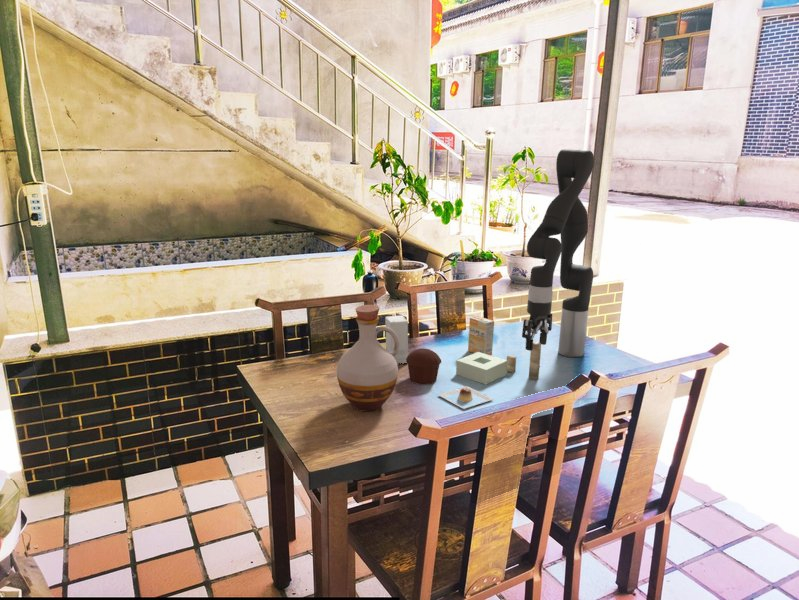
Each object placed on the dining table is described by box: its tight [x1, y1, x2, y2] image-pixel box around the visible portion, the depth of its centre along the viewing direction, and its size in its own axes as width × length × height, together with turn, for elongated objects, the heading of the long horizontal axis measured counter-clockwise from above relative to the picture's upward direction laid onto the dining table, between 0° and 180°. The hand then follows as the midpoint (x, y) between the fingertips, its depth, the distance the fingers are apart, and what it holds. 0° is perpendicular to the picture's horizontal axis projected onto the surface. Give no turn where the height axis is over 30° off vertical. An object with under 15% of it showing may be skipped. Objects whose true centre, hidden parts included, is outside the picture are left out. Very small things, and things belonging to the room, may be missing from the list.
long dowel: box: [528, 341, 542, 381], centre depth 198 cm, size 3×3×12 cm
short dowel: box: [506, 354, 517, 373], centre depth 205 cm, size 3×3×5 cm
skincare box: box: [384, 314, 409, 365], centre depth 211 cm, size 8×7×16 cm
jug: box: [336, 304, 399, 412], centre depth 173 cm, size 20×18×30 cm
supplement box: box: [467, 315, 495, 356], centre depth 220 cm, size 8×5×13 cm, turn 41°
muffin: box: [406, 348, 442, 386], centre depth 196 cm, size 12×11×10 cm
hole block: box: [455, 352, 507, 385], centre depth 201 cm, size 12×12×5 cm
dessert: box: [437, 385, 494, 410], centre depth 182 cm, size 12×12×5 cm
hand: (535, 347), depth 196 cm, fingers open, 8 cm apart
